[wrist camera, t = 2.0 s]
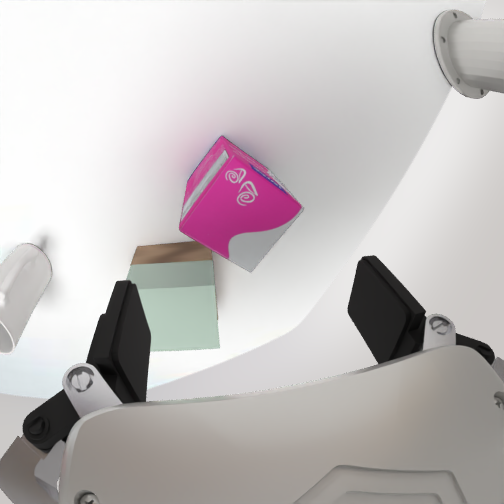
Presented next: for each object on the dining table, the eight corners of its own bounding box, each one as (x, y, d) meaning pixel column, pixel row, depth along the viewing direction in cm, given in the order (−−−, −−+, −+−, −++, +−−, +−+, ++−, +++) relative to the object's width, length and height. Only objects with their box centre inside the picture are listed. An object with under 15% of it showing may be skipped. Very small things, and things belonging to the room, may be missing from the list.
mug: (44, 295, 30) (9, 363, 20) (7, 265, 27) (-36, 326, 17) (72, 245, 28) (27, 317, 18) (31, 210, 25) (-29, 269, 14)
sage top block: (212, 259, 27) (214, 285, 24) (217, 321, 31) (219, 348, 28) (131, 264, 26) (122, 290, 23) (147, 324, 30) (142, 351, 27)
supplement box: (269, 167, 27) (308, 211, 17) (233, 212, 29) (249, 278, 19) (222, 131, 25) (233, 154, 15) (185, 181, 27) (174, 235, 17)
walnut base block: (210, 238, 31) (211, 258, 27) (216, 297, 35) (218, 319, 31) (137, 245, 30) (130, 265, 26) (152, 302, 34) (148, 324, 30)
